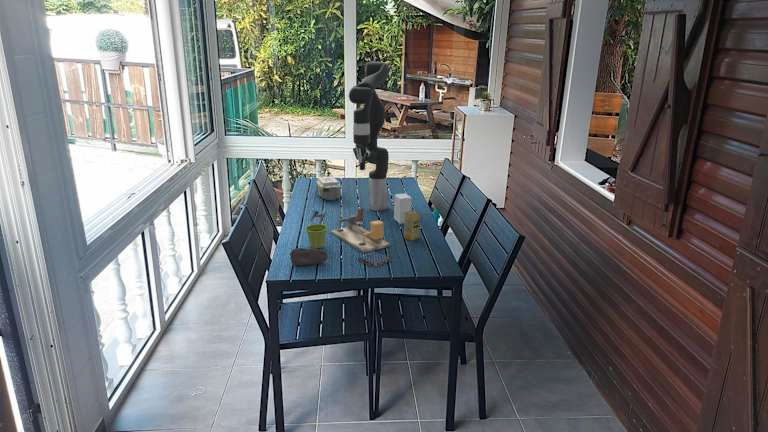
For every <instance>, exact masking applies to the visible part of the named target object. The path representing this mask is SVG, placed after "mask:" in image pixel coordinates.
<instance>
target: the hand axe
mask: <svg viewBox="0 0 768 432" xmlns="http://www.w3.org/2000/svg"><path fill="white" fill-rule="evenodd" d="M363 210H364V208H359V209H358V210H357V212H358V213H357V215H356V225H358V226H360V227H363V225H364V223H363V221H362V219H363V218H362V216H363ZM346 227H348V224H347V226H346Z"/></svg>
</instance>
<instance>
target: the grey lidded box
mask: <svg viewBox="0 0 768 432" xmlns="http://www.w3.org/2000/svg"><path fill="white" fill-rule="evenodd" d="M315 184H316V193H317V194H318V196H319V197H321V198H322V199H323V200H327V201H336V200H337V198H340V196H341V187H342V185H341V184H340V183H339V180H337V179H336V178H335V177H334V176H332V175H331V176H318V177H317V178H316V182H315Z"/></svg>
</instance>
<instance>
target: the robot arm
mask: <svg viewBox="0 0 768 432" xmlns="http://www.w3.org/2000/svg"><path fill="white" fill-rule="evenodd" d="M364 69H365V70H364V72H365V73H364V75H365V77H363V79H362V80H361V82H360V83H357V84H355V85H354V86H352V87H351V88H350V90H349V93H348V99H349V101H350V102H351V103H353V104H359V105H360V104H362V105H363V107H362V108H357V109H355V110H354V111H353V127H352V130H353V133H352V134H353V143H354V144H355V147H353V148H352V151H353V154H354V156H355V160H356V161H358V163H359V168H358V169H359V170H360V171H365V170H366V163H369V164H372V165H375V168H374V169H373V170H371V171H369V173H368V210H370V211H374V212H380V211H381V212H382V211H385V210H386V209H388V206H389V202H388V201H389V200H388V199H389V198H388V197H389V196H388V195H389V192H388V190H387V174H388V171H389V170H388V169H389V159H390V157H389V152H388V149H386V148H385V147H380V146H378V136H379V135H380V132H381V130H382V128H383V126H384V125H385V121H386V109H385V105H384V103H383V101H382V100H381V98H380V97H379V95H378V93H377V91H376V88H377V87H379V86H380V85H381V84H383V83H384V82H386V81H387V79H388V77H389V65H388V63H387V62H384V61H366V63H365V68H364Z"/></svg>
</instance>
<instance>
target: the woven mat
mask: <svg viewBox="0 0 768 432" xmlns="http://www.w3.org/2000/svg"><path fill="white" fill-rule="evenodd" d="M363 254H364V255H361V256H358V258H357V261H359V262H360V263H363V264H365V265H367V266H369V267H372V268H376V267H379V266H381V265H383V264H385V263H389V261H390V262H391V261H392V258H391V257H390V255H387V254H385V253H382V252H379V251H377V250H373V251H370V252H367V253H366V254H365V253H363Z"/></svg>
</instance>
